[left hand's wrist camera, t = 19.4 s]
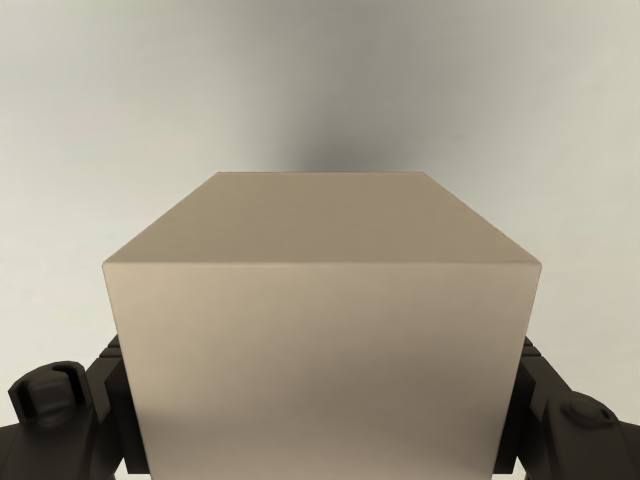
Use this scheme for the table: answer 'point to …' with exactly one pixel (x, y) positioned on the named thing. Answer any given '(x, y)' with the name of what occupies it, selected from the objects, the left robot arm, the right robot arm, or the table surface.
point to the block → (321, 329)
